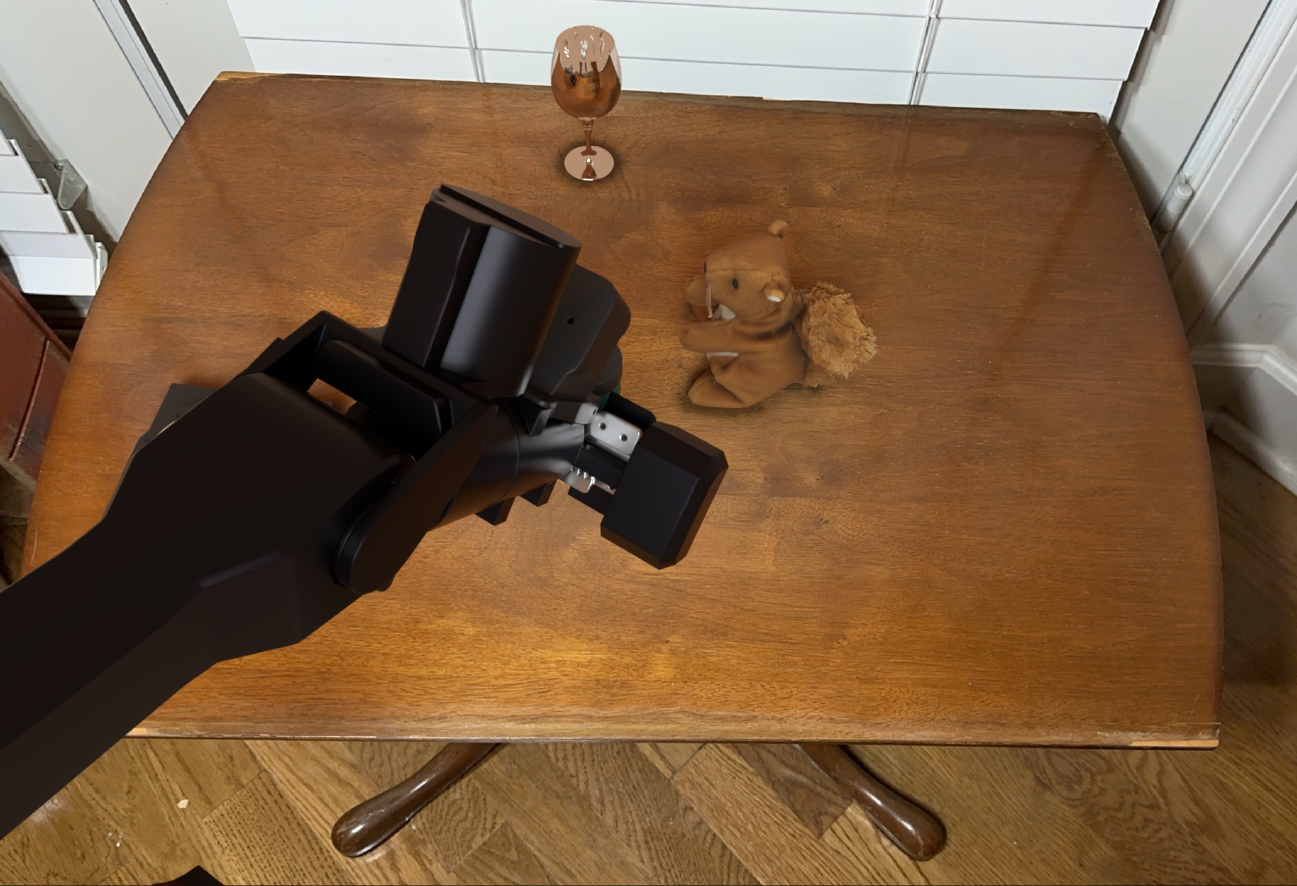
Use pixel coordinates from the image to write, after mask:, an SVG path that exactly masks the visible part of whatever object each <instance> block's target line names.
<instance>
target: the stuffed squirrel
mask: <svg viewBox="0 0 1297 886" xmlns="http://www.w3.org/2000/svg"><path fill="white" fill-rule="evenodd" d="M788 229H789V226H788V223H787V221H786V220H783V219H780V218H778V219H776V220H774V221H773V222H772V223H771V224H770V225H769V226H768V227H767V228H766V230H765V232H764V231H758V232H753V233H749V234H746V235H744V236H742V237H740V238H738V239H737V240H736V241H735V242H733V243H730V244H728V245H726V246H723V247H721V248H716V249H715V250H712V249H709V250H708V251H706V254H708V255H707V256H706V257H705V259H704V262H702V263H701V265H702V266H701V267H702V274H696V275H694V276H692V277H690V278H689V279H688V280H686V282H685V283H684V284H683V286H682V295H683V296H684V299H685V301H686V302H687V303H688V304H689V305H691V309H692V311H693V313H694V315H695V317H696V318H697V320H698V321H695V322H689V323H687V324H685V325H683V326H682V327H681V330H680V333H679V342H680V345H681V346H682V348H684V349H685V350H687V351H689V352H694V353H700V354H704V353H705V355H706V358H707V360H708V363H709V367H710V369H708V370H706V371H705V372H703V373H702V374H701V375H700V376H699V377H698V378H696V379H695V381H694V382H693V384H692V385H691V387H690V388H689V390H688V393H687V395H688V398H689V399H688V400H690V401H691V403H692V404H694V405H695V406H696V405H697V406H701V407H707V408H724V409H725V408H726V409H727V408H729V409H730V408H731V409H732V408H735V409H736V408H737V409H741V408H743V409H744V408H748V407H749V408H750V407H752V406H754V405H757V404H758V403H761V402H762V401H764V400H766V399H768V398H769V397H771V396H773V395H775V394H777V393H778V392H780V391H781V390H783V389H785V388H787V387H789V386H790V385H792V384H800V385H802V386H803V387H806V388H807V387H808V386H810V387H814V388H817V387H818V385H820V386H822V385H823V384H825V383H827V382H829V381H832V380H833V381H834V380H835V379H837V378H839V377H840V376H841V375H843V376H844V378H845V380H848V376H849V374H850V373H853V370H855V369H856V370H861V367H859V366H861V365H864V364H865V365H867V364H868V362H870V360H871V359H874V356H875V354H877V353H878V350H877V349H876V348H875V347H878V344H876V341H877V339H878V338H877V336H876V335H875V334H874V332H875V330H874V329H873V328H872V327H873V325H872V323H870V321H869V320H867V319H866V318H865V317H864V313H863V310H862V308H860V306H859V304H857V303H855V301H854V299H853V298H851V293H850V292H849V293H848V292H846V290H844V289H843V288H840V287H839V288H838V287H837V286H836V285H835V284H831V283H827V282H828V280H827V281H825V280H824V281H822V280H819V279H817V280H816V282H812V283H811V284H808V285H805V284H803V285H802V286H797V287H794V285H793V284H792V282H791V281H792V278H791V261H790V254H789V251H788V247H787V245H786V243H785V241H784V240H783V238H785V236H786V234H787V232H788Z"/></svg>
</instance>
